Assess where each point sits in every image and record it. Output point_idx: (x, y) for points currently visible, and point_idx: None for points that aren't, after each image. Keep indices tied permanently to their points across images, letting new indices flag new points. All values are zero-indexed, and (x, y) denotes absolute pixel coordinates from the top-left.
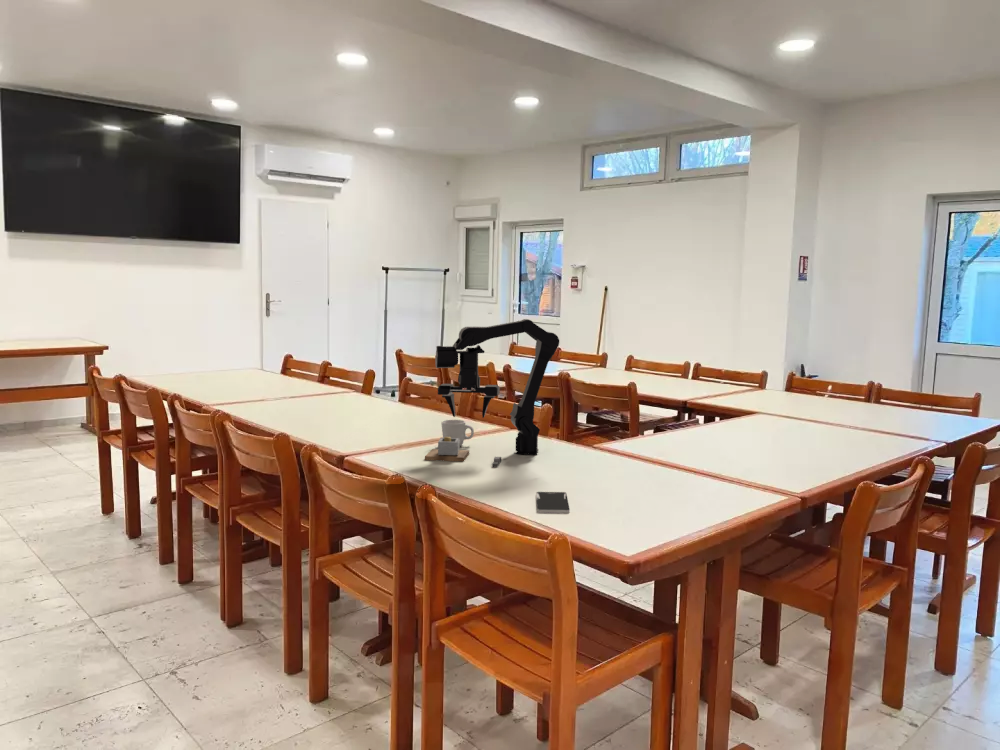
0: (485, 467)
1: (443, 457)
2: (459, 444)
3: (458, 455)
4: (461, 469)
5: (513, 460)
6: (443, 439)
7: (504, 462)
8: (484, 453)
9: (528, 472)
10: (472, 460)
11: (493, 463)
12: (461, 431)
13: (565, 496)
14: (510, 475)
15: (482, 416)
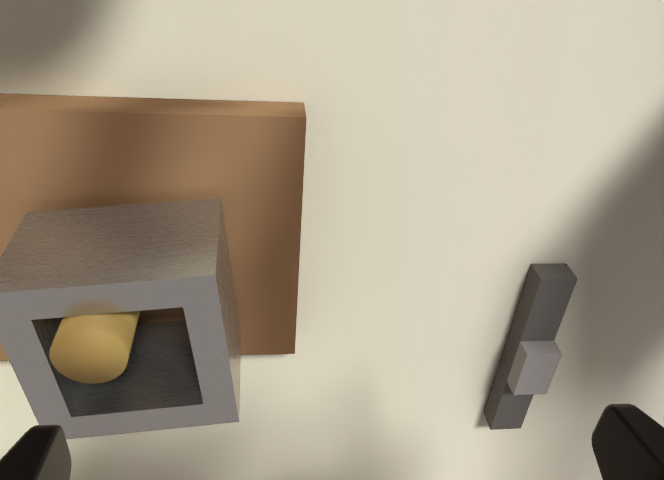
0: (443, 420)
1: None
2: (220, 251)
3: (240, 305)
4: (307, 469)
5: (653, 256)
6: (35, 311)
7: (576, 311)
8: (450, 53)
9: None
10: (353, 296)
11: (498, 423)
12: None
13: None
14: None
15: (599, 466)
